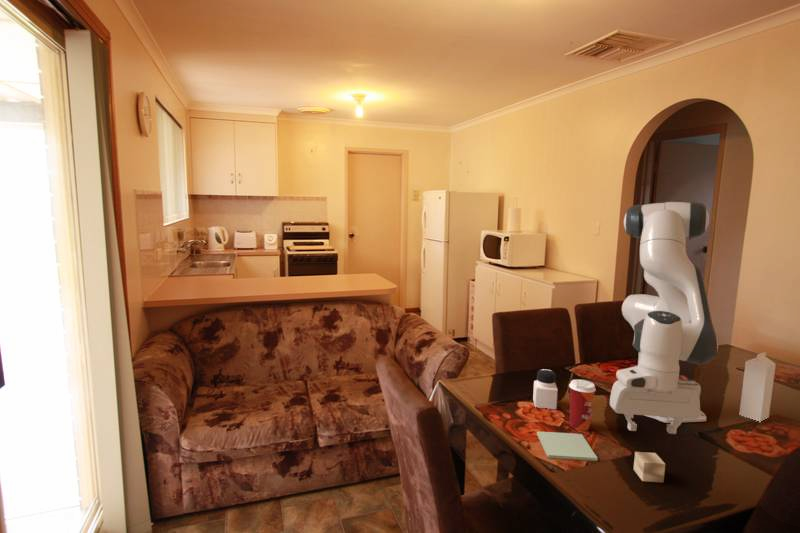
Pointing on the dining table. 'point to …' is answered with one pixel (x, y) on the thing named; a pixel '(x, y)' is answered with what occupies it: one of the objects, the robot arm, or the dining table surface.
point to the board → (566, 446)
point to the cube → (649, 467)
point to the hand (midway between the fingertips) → (651, 431)
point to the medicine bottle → (545, 390)
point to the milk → (757, 388)
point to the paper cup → (581, 403)
